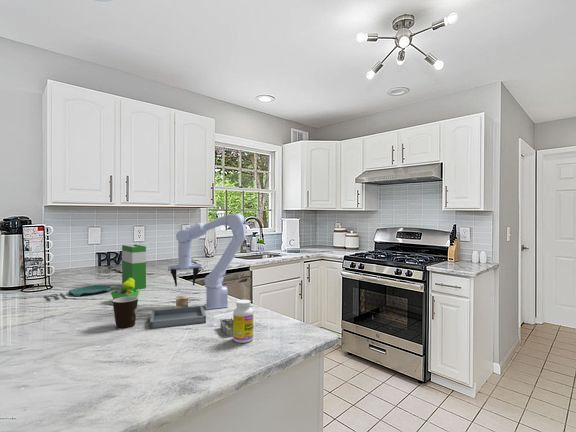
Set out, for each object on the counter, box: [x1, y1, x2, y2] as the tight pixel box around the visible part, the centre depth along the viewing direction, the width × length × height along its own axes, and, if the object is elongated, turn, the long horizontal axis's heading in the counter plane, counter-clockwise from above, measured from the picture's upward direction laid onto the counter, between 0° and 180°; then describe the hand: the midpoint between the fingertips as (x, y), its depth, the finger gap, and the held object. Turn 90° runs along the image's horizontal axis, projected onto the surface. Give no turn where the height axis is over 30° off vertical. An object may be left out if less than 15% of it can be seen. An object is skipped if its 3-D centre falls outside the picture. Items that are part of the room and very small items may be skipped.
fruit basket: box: [110, 278, 140, 301], centre depth 158 cm, size 11×9×11 cm
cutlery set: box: [43, 284, 112, 302], centre depth 174 cm, size 20×30×2 cm, turn 133°
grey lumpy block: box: [219, 317, 233, 337], centre depth 118 cm, size 11×8×4 cm
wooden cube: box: [175, 295, 189, 308], centre depth 146 cm, size 5×5×5 cm
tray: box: [149, 305, 207, 330], centre depth 131 cm, size 20×16×2 cm
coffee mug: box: [112, 297, 139, 330], centre depth 124 cm, size 12×9×10 cm
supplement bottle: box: [232, 299, 254, 344], centre depth 109 cm, size 7×7×13 cm
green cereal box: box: [121, 244, 147, 291], centre depth 191 cm, size 18×7×24 cm, turn 43°
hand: (184, 285), depth 151 cm, fingers open, 7 cm apart
